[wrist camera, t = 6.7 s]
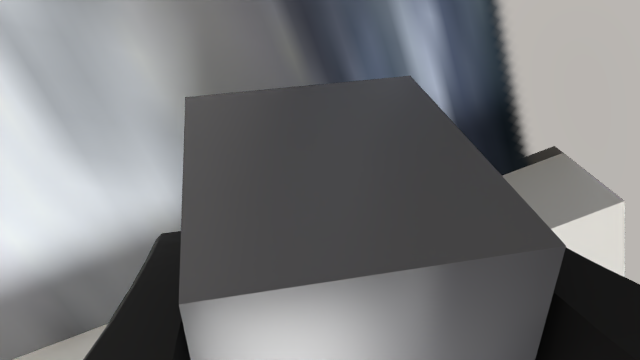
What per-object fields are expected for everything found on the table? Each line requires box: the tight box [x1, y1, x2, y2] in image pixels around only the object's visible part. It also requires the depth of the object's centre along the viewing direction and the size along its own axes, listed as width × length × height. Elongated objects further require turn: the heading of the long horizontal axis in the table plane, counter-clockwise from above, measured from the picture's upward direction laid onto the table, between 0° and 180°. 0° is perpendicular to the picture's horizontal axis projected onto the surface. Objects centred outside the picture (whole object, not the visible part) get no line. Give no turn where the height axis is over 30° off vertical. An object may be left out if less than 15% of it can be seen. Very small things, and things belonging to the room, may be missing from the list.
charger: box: [179, 76, 566, 360], centre depth 10 cm, size 5×4×7 cm
